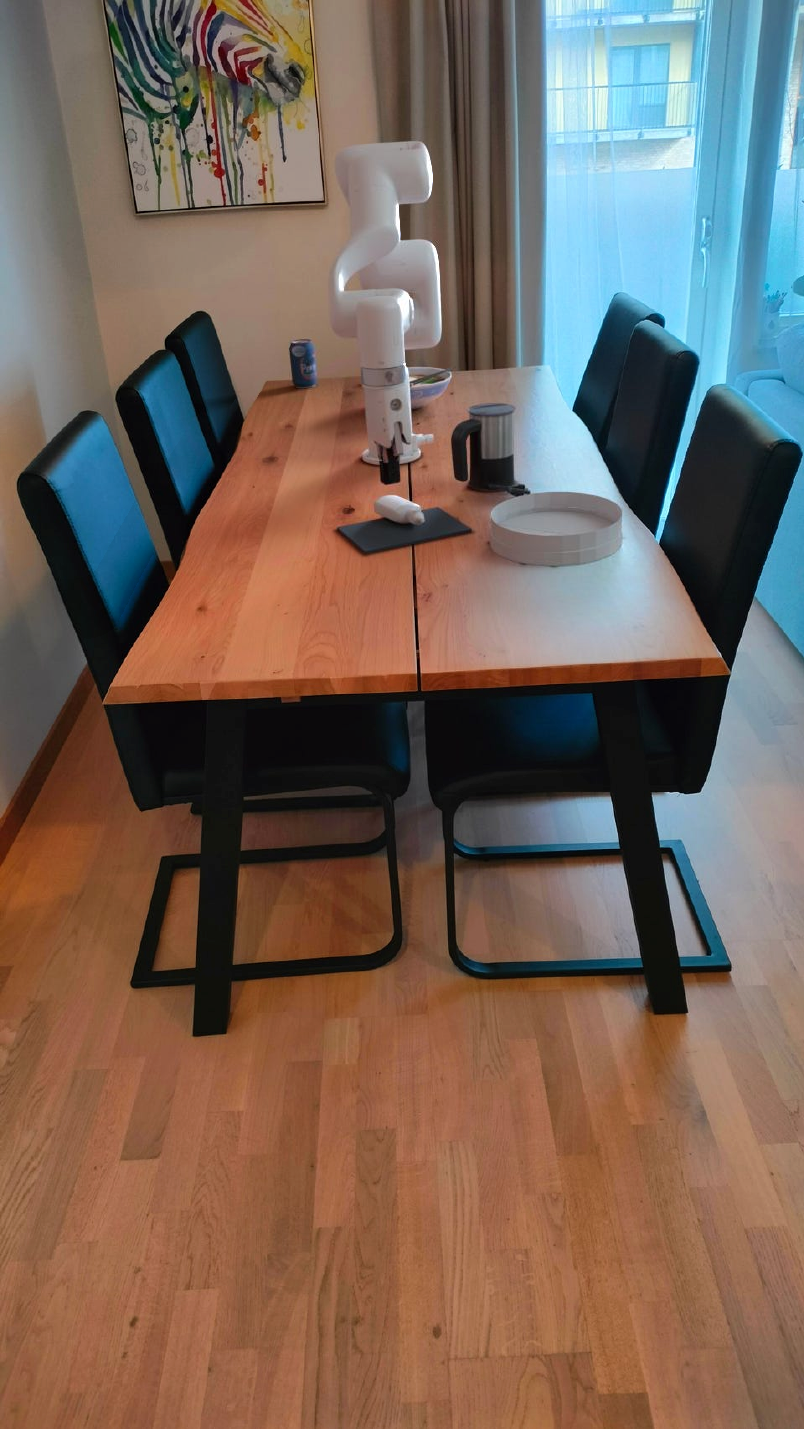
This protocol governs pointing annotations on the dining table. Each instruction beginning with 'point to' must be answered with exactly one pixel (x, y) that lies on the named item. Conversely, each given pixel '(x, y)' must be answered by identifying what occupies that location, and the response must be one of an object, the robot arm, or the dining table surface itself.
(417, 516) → the eye dropper bottle
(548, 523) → the dish
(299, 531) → the dining table surface
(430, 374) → the ramen bowl
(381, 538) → the mat
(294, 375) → the soda can
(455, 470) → the milk frother
